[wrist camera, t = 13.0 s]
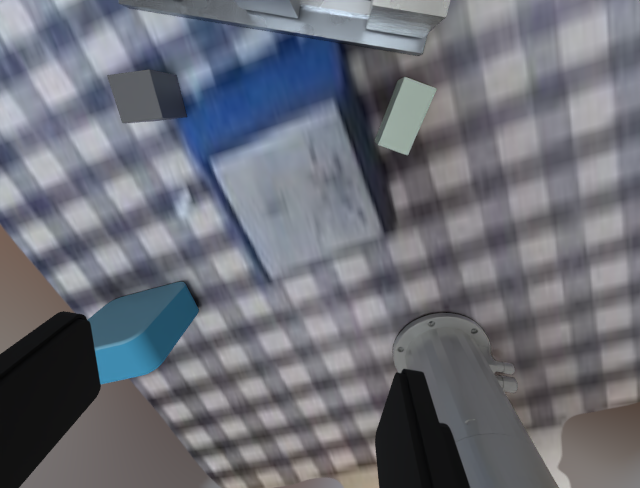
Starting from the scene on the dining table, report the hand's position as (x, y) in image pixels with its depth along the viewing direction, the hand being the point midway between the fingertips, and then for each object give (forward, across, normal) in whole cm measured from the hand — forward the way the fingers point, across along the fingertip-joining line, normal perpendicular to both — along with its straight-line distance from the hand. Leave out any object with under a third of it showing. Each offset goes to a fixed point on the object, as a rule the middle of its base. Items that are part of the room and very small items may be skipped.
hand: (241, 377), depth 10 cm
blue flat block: (+29, +19, +20) cm, 40 cm away
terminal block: (+28, -8, -8) cm, 31 cm away
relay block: (+28, +17, -6) cm, 34 cm away
